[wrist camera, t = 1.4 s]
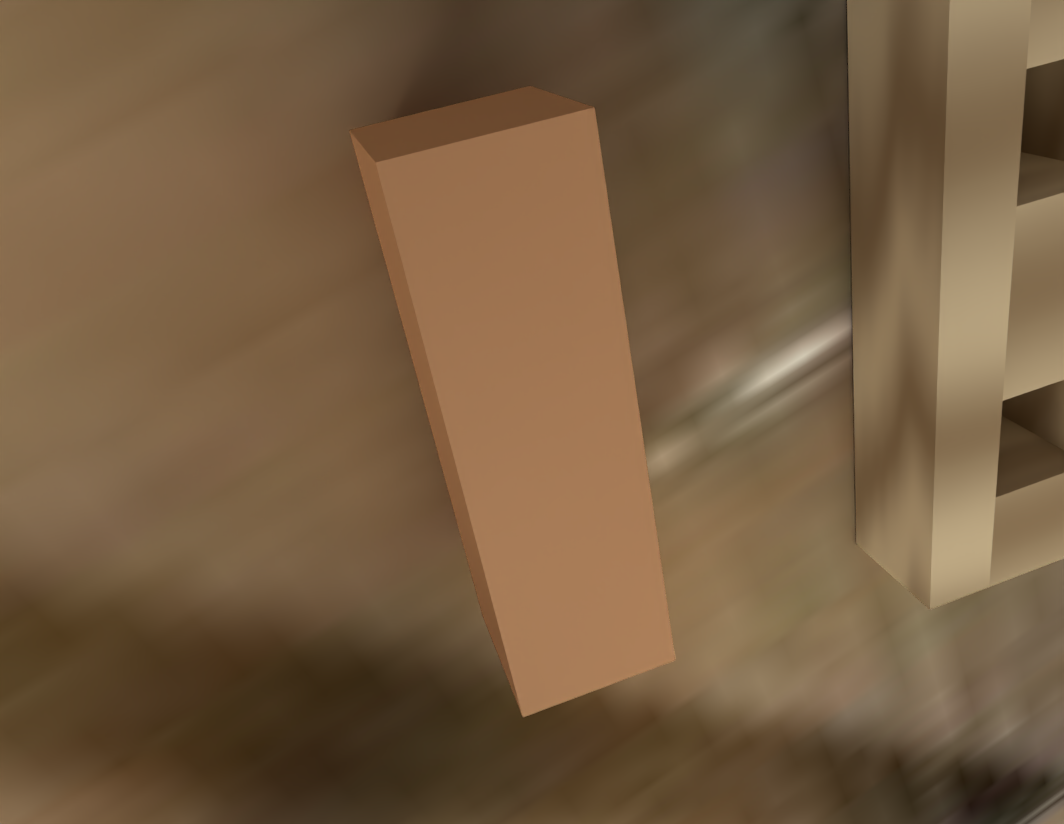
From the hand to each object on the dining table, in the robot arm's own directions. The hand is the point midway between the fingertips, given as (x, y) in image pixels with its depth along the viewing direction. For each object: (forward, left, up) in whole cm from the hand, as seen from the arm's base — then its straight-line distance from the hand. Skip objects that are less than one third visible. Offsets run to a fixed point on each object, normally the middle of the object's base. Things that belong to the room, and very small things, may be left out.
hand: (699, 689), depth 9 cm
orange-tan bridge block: (-1, 0, -11) cm, 11 cm away
